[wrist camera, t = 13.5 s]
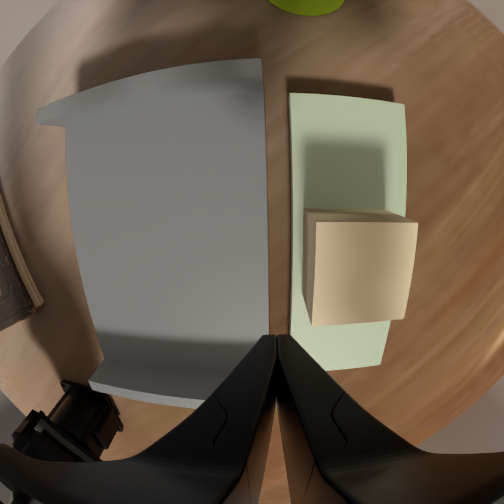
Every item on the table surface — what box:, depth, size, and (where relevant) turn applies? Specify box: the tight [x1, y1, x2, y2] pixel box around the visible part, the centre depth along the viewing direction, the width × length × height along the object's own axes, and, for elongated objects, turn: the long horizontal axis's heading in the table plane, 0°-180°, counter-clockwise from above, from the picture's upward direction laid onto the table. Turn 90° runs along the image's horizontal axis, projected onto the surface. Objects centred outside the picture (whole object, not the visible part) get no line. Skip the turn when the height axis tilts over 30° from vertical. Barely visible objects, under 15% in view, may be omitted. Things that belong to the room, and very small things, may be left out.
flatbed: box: [37, 58, 269, 409], centre depth 16 cm, size 13×20×4 cm, turn 2°
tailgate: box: [288, 93, 407, 371], centre depth 16 cm, size 1×18×7 cm
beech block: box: [302, 209, 418, 326], centre depth 14 cm, size 5×5×4 cm
